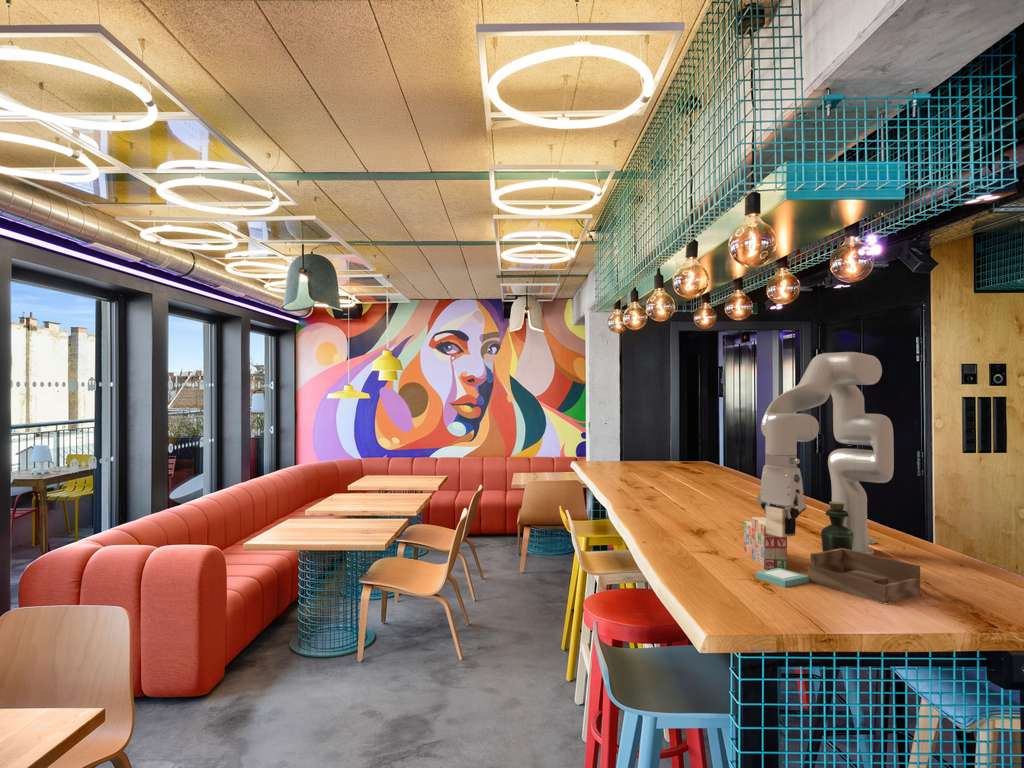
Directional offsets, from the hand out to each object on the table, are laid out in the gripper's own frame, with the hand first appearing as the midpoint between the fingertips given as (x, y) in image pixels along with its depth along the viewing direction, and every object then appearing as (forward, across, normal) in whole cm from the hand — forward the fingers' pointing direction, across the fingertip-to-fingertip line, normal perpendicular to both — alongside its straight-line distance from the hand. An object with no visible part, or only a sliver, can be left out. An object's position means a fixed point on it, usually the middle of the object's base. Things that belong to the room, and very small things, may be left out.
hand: (780, 530), depth 163 cm
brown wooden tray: (+13, -14, -13) cm, 23 cm away
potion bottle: (+13, +1, -25) cm, 28 cm away
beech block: (+1, 0, 0) cm, 1 cm away
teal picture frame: (+13, 0, -1) cm, 13 cm away
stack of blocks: (+13, +16, -14) cm, 25 cm away
